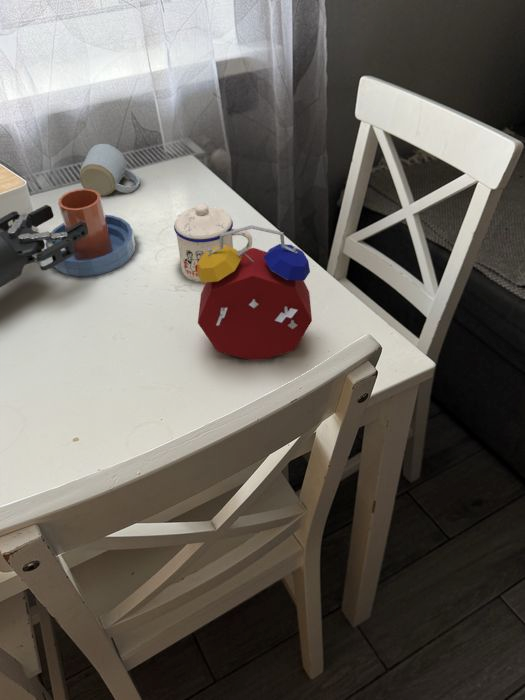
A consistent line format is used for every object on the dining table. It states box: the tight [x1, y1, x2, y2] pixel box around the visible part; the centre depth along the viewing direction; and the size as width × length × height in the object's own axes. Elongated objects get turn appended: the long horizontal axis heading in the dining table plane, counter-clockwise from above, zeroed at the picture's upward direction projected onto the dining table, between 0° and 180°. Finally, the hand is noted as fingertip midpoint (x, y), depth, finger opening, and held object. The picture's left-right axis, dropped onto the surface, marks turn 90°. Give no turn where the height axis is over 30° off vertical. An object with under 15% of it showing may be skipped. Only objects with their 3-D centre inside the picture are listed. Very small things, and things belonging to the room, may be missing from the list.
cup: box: [58, 188, 112, 260], centre depth 98 cm, size 6×6×10 cm
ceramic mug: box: [79, 143, 141, 197], centre depth 116 cm, size 11×8×8 cm
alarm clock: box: [197, 225, 313, 360], centre depth 77 cm, size 15×9×20 cm, turn 90°
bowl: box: [44, 214, 136, 277], centre depth 101 cm, size 14×14×4 cm
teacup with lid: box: [173, 203, 253, 284], centre depth 94 cm, size 12×9×12 cm
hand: (67, 218), depth 95 cm, fingers open, 8 cm apart
